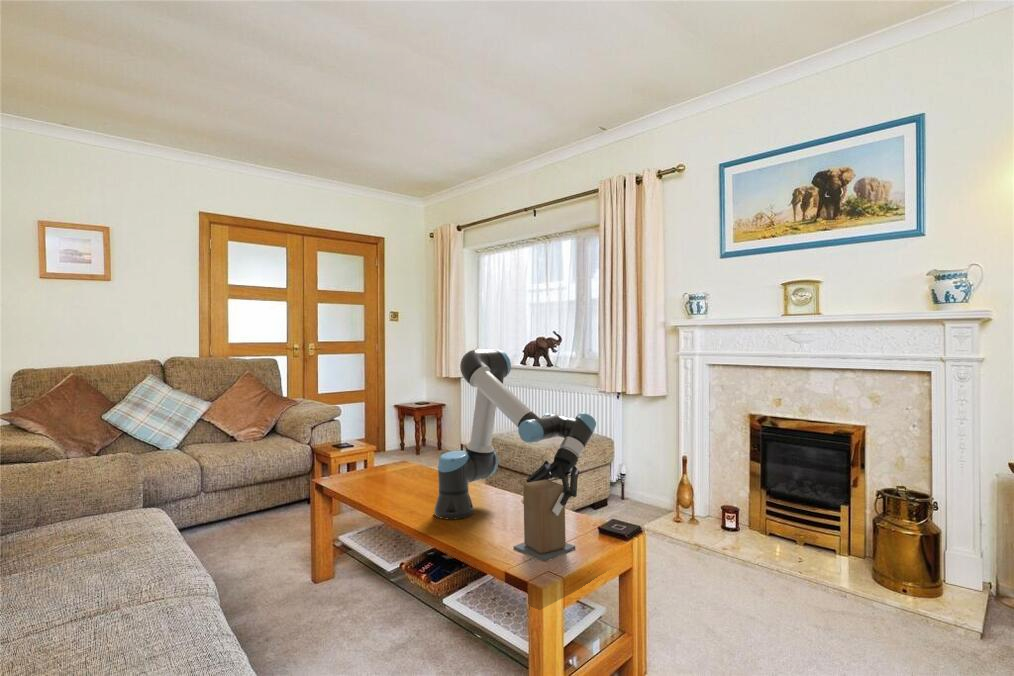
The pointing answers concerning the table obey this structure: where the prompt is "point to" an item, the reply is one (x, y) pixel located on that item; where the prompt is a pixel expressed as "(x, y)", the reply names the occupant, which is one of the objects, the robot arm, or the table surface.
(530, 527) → the wooden block
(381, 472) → the table surface
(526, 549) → the mat
